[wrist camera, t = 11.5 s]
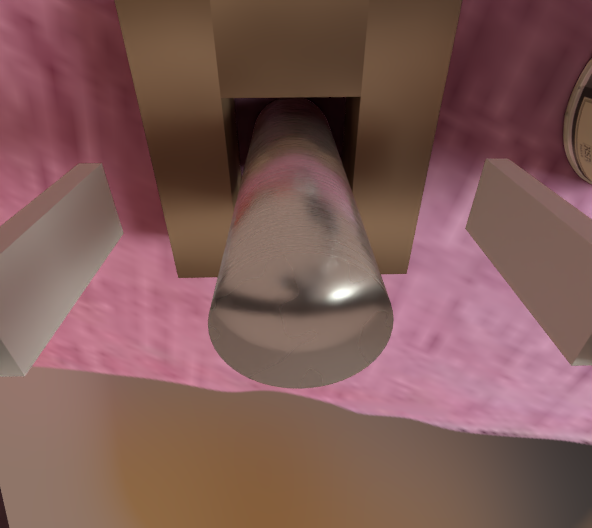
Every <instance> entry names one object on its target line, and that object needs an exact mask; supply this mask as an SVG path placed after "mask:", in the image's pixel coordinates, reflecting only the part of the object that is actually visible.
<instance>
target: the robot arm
mask: <svg viewBox="0 0 592 528" xmlns="http://www.w3.org/2000/svg"><path fill="white" fill-rule="evenodd" d="M465 229H466V230H467V231H468V232H469V234H470V235H471V236H472V238H473V239H474V240H475V242H476V243H477V244H478V245H479V247H480V248H481V249H482V251H483V252H484V253H485V254H486V256H487V257H488V258H489V260H490V261H491V262H492V264H493V265H494V266H495V267H496V269H497V270H498V271H499V273H500V274H501V275H502V276H503V278H504V279H505V280H506V282H507V283H508V284H509V286H510V287H511V288H512V289H513V291H514V292H515V293H516V295H517V296H518V297H519V298H520V300H521V301H522V302H523V304H524V305H525V306H526V308H527V309H528V310H529V311H530V313H531V314H532V315H533V317H534V318H535V319H536V320H537V322H538V323H539V324H540V326H541V327H542V328H543V330H544V331H545V332H546V333H547V335H548V336H549V337H550V339H551V340H552V341H553V342H554V344H555V345H556V346H557V348H558V349H559V350H560V352H561V353H562V354H563V355H564V357H565V358H566V359H567V361H568V362H569V363H570V364H571V366H578V365H592V219H590V218H589V217H588V216H586V215H585V214H584V213H582V212H581V211H579V210H578V209H577V208H575V207H574V206H573V205H571V204H570V203H568V202H567V201H566V200H564V199H563V198H562V197H560V196H559V195H557V194H556V193H555V192H553V191H552V190H551V189H549V188H548V187H546V186H545V185H544V184H542V183H541V182H540V181H538V180H537V179H536V178H534V177H533V176H531V175H530V174H529V173H527V172H526V171H525V170H523V169H522V168H520V167H519V166H518V165H516V164H515V163H514V162H512V161H511V160H509V159H508V158H503V159H486V160H485V163H484V167H483V170H482V174H481V177H480V180H479V184H478V187H477V191H476V194H475V198H474V201H473V204H472V208H471V211H470V215H469V218H468V221H467V225H466V228H465ZM122 235H123V230H122V227H121V223H120V220H119V217H118V214H117V211H116V207H115V204H114V201H113V198H112V195H111V191H110V188H109V185H108V182H107V179H106V175H105V172H104V169H103V166H102V163H79V164H78V165H76V166H75V167H74V168H73V169H71V170H70V171H69V172H68V173H66V174H65V175H64V176H63V177H61V178H60V179H59V180H58V181H56V182H55V183H54V184H53V185H51V186H50V187H49V188H48V189H46V190H45V191H44V192H43V193H41V194H40V195H39V196H38V197H36V198H35V199H34V200H33V201H31V202H30V203H29V204H28V205H26V206H25V207H24V208H23V209H21V210H20V211H19V212H18V213H16V214H15V215H14V216H13V217H11V218H10V219H9V220H8V221H6V222H5V223H4V224H3V225H1V226H0V377H7V376H9V377H10V376H25V375H26V374H27V372H28V371H29V370H30V368H31V367H32V365H33V364H34V362H35V361H36V359H37V358H38V357H39V355H40V354H41V352H42V351H43V349H44V348H45V346H46V345H47V344H48V342H49V341H50V339H51V338H52V336H53V335H54V333H55V332H56V330H57V329H58V328H59V326H60V325H61V323H62V322H63V320H64V319H65V317H66V316H67V315H68V313H69V312H70V310H71V309H72V307H73V306H74V304H75V303H76V302H77V300H78V299H79V297H80V296H81V294H82V293H83V291H84V290H85V288H86V287H87V286H88V284H89V283H90V281H91V280H92V278H93V277H94V275H95V274H96V273H97V271H98V270H99V268H100V267H101V265H102V264H103V262H104V261H105V260H106V258H107V257H108V255H109V254H110V252H111V251H112V249H113V248H114V246H115V245H116V244H117V242H118V241H119V239H120V238H121V236H122ZM0 528H9V524H8V520H7V515H6V511H5V506H4V502H3V498H2V493H1V489H0Z"/></svg>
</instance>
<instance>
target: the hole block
mask: <svg viewBox="0 0 592 528" xmlns="http://www.w3.org/2000/svg"><path fill="white" fill-rule="evenodd" d="M114 1H115V5H116V9H117V14H118V18H119V22H120V27H121V31H122V35H123V40H124V44H125V48H126V53H127V57H128V61H129V66H130V70H131V74H132V79H133V83H134V87H135V92H136V96H137V100H138V105H139V109H140V113H141V118H142V122H143V126H144V131H145V135H146V139H147V144H148V148H149V152H150V157H151V161H152V165H153V170H154V174H155V178H156V183H157V187H158V191H159V196H160V200H161V204H162V209H163V213H164V217H165V222H166V226H167V230H168V235H169V239H170V243H171V248H172V252H173V256H174V261H175V265H176V269H177V274H178V278H198V277H218V274H219V270H220V266H221V262H222V258H223V254H224V250H225V246H226V241H227V237H228V233H229V229H230V225H231V221H232V217H233V212H234V208H235V204H236V200H237V196H238V192H239V188H240V184H241V179H242V178H241V167H240V156H239V145H238V135H237V124H236V113H235V102H234V98H279V97H346V104H345V119H344V134H343V149H342V164H343V167H344V170H345V173H346V176H347V179H348V182H349V184H350V187H351V190H352V193H353V196H354V199H355V202H356V205H357V208H358V210H359V213H360V216H361V219H362V222H363V225H364V228H365V231H366V234H367V236H368V239H369V242H370V245H371V248H372V251H373V254H374V257H375V260H376V262H377V265H378V268H379V271H380V274H407V269H408V264H409V259H410V254H411V249H412V244H413V240H414V235H415V230H416V225H417V220H418V215H419V210H420V205H421V200H422V195H423V191H424V186H425V181H426V176H427V171H428V166H429V161H430V156H431V151H432V146H433V142H434V137H435V132H436V127H437V122H438V117H439V112H440V107H441V102H442V97H443V92H444V88H445V83H446V78H447V73H448V68H449V63H450V58H451V53H452V48H453V43H454V39H455V34H456V29H457V24H458V19H459V14H460V9H461V4H462V0H114Z"/></svg>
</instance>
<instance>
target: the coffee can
mask: <svg viewBox="0 0 592 528" xmlns="http://www.w3.org/2000/svg"><path fill="white" fill-rule="evenodd" d="M563 141H564V149H565V152H566V156H567V159H568V161H569V163H570V165H571V166H572V168H573V169H574V170H575V172H576V173H577V174H578V176H579V177H581V178H582V179H584V180H585V181H587V182H588V183H590V184H592V58H591V60H590V61H589V62H588V64H587V65H586V66H585V68H584V70H583V71H582V73H581V75H580V77H579V79H578V81H577V83H576V85H575V87H574V89H573V92H572V94H571V97H570V99H569V102H568V106H567V109H566V112H565V119H564V130H563Z"/></svg>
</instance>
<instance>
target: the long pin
mask: <svg viewBox="0 0 592 528" xmlns="http://www.w3.org/2000/svg"><path fill="white" fill-rule="evenodd" d="M208 329H209V335H210V339H211V342H212V344H213V346H214V348H215V350H216V351H217V353H218V354H219V355H220V357H221V358H222V359H223V360H224V361H225V362H226V363H227V364H228V365H229V366H230V367H232V368H233V369H234V370H236V371H237V372H239V373H240V374H242V375H244V376H246V377H248V378H250V379H252V380H255V381H257V382H260V383H263V384H267V385H271V386H276V387H283V388H313V387H320V386H325V385H329V384H333V383H336V382H339V381H342V380H344V379H347V378H349V377H351V376H353V375H355V374H357V373H358V372H360V371H362V370H363V369H364V368H366V367H367V366H369V365H370V364H371V363H372V362H373V361H374V360H375V359H376V358H377V357H378V356H379V355H380V354H381V352H382V351H383V349H384V348H385V346H386V345H387V343H388V341H389V338H390V336H391V332H392V329H393V310H392V307H391V303H390V300H389V297H388V294H387V291H386V288H385V285H384V283H383V280H382V277H381V274H380V271H379V268H378V265H377V262H376V260H375V257H374V254H373V251H372V248H371V245H370V242H369V239H368V236H367V234H366V231H365V228H364V225H363V222H362V219H361V216H360V213H359V210H358V208H357V205H356V202H355V199H354V196H353V193H352V190H351V187H350V184H349V182H348V179H347V176H346V173H345V170H344V167H343V164H342V161H341V158H340V156H339V153H338V150H337V147H336V144H335V141H334V138H333V135H332V133H331V130H330V127H329V124H328V121H327V119H326V117H325V115H324V113H323V112H322V111H321V109H320V108H319V107H318V106H317V105H315V104H314V103H312V102H311V101H309V100H307V99H304V98H301V97H282V98H279V99H276V100H274V101H273V102H271V103H270V104H268V105H267V106H266V107H265V108H264V109H263V110H262V111H261V113H260V114H259V116H258V118H257V120H256V122H255V126H254V130H253V134H252V138H251V142H250V146H249V151H248V155H247V159H246V163H245V167H244V171H243V175H242V179H241V184H240V188H239V192H238V196H237V200H236V204H235V208H234V212H233V217H232V221H231V225H230V229H229V233H228V237H227V241H226V246H225V250H224V254H223V258H222V262H221V266H220V270H219V274H218V279H217V283H216V287H215V291H214V295H213V299H212V303H211V307H210V312H209V317H208Z"/></svg>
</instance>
